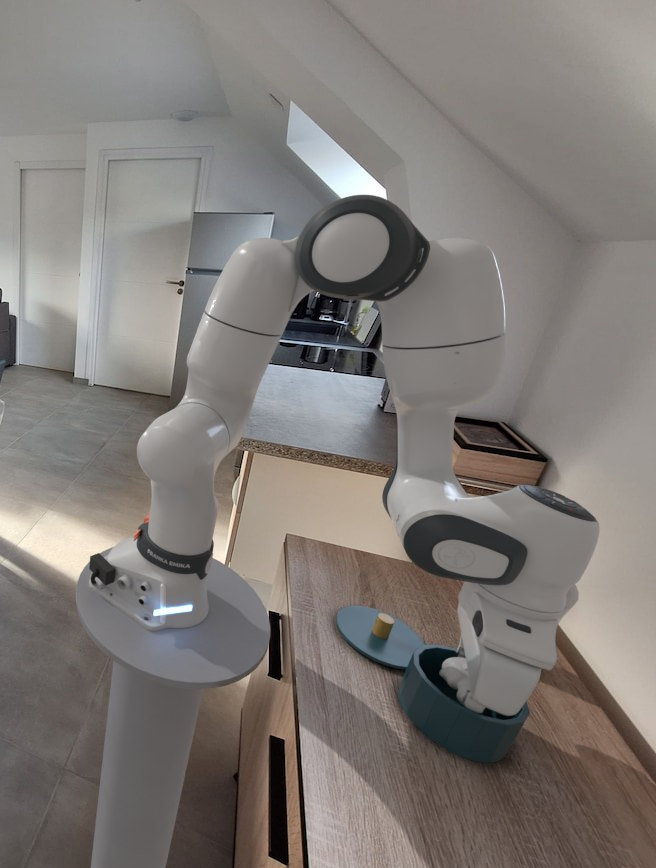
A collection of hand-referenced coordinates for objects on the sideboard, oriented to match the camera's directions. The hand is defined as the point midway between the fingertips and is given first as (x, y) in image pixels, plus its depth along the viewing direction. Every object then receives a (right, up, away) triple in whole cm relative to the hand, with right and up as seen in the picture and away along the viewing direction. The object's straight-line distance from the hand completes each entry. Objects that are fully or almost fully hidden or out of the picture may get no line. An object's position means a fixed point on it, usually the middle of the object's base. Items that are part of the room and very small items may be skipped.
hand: (467, 681), depth 64 cm
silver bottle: (+20, -4, +14) cm, 25 cm away
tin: (0, -7, +3) cm, 7 cm away
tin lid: (-1, -1, +16) cm, 16 cm away
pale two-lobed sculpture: (0, -2, +1) cm, 2 cm away
